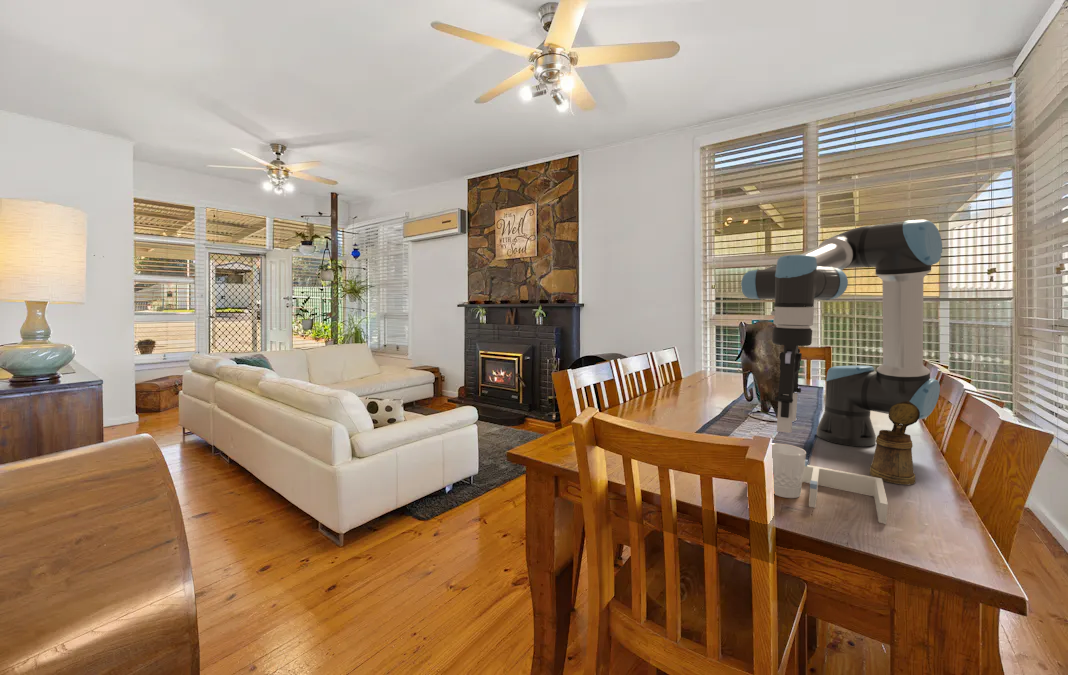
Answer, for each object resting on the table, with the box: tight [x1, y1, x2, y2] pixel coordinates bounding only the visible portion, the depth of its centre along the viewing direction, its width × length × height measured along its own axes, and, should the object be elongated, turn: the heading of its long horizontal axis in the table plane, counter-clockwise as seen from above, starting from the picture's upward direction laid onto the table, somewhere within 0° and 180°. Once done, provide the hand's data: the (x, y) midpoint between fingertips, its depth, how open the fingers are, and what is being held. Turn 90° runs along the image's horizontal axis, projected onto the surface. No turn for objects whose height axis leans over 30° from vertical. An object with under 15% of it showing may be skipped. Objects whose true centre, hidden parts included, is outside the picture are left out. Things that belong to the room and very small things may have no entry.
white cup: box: [771, 443, 807, 499], centre depth 101 cm, size 8×8×10 cm
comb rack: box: [802, 459, 889, 525], centre depth 100 cm, size 15×25×5 cm, turn 56°
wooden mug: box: [869, 401, 920, 486], centre depth 110 cm, size 9×14×18 cm, turn 127°
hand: (786, 425), depth 100 cm, fingers open, 10 cm apart
